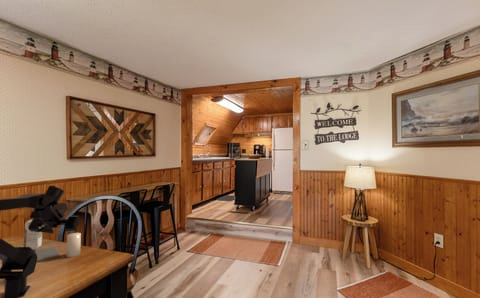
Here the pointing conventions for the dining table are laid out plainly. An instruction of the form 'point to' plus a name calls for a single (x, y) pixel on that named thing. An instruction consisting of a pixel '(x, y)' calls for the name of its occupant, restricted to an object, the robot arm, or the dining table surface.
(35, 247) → the syrup box
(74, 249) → the candle jar
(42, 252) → the placemat
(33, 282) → the dining table surface
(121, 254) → the dining table surface
